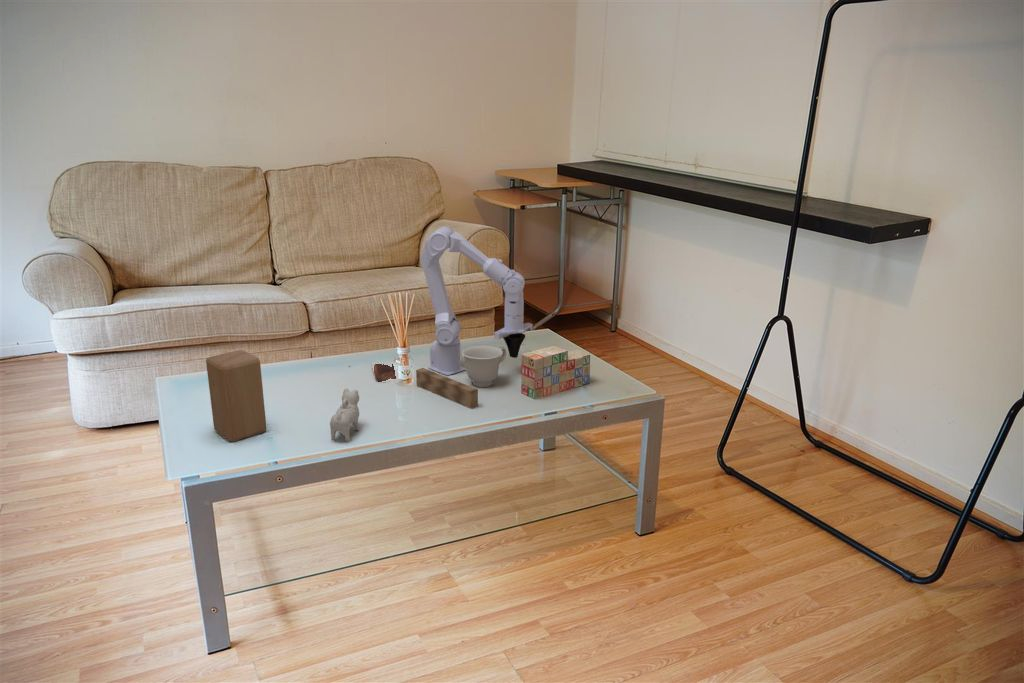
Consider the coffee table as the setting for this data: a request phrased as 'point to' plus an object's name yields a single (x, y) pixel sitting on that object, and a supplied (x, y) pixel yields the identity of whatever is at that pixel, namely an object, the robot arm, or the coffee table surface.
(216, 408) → the wooden block
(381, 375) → the wooden tablet
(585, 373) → the stack of blocks
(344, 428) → the grey animal figure
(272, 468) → the coffee table surface
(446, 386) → the walnut board
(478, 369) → the teacup
